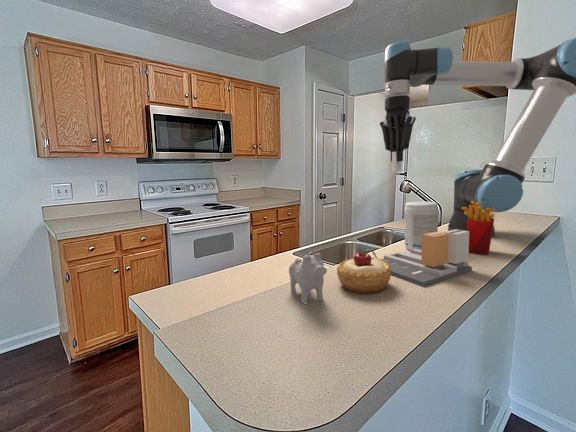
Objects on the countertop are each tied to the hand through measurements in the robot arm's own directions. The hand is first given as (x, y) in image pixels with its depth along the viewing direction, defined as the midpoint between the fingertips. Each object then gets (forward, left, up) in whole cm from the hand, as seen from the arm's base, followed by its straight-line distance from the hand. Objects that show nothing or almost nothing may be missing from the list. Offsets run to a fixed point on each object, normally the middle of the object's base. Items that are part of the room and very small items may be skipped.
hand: (396, 171), depth 106 cm
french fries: (-10, +21, -25) cm, 34 cm away
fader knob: (+15, +26, -23) cm, 38 cm away
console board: (+15, +21, -24) cm, 36 cm away
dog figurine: (+48, +20, -25) cm, 58 cm away
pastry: (+34, +22, -25) cm, 47 cm away
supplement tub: (-1, +9, -25) cm, 26 cm away
